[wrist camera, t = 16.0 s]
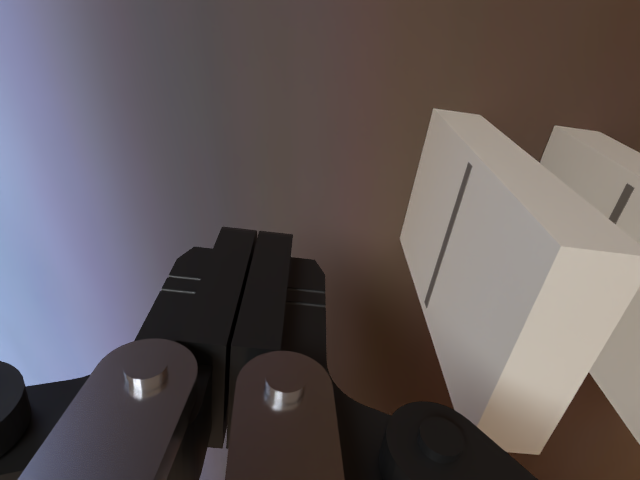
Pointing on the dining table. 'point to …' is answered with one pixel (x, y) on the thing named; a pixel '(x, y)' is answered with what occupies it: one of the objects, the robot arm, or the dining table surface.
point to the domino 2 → (629, 215)
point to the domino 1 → (511, 278)
